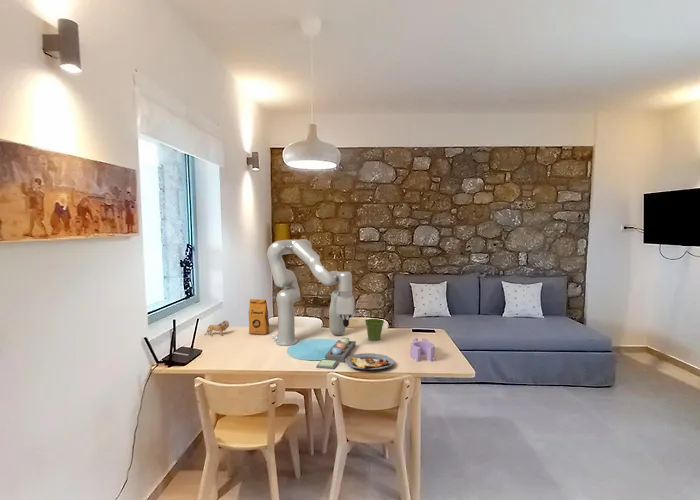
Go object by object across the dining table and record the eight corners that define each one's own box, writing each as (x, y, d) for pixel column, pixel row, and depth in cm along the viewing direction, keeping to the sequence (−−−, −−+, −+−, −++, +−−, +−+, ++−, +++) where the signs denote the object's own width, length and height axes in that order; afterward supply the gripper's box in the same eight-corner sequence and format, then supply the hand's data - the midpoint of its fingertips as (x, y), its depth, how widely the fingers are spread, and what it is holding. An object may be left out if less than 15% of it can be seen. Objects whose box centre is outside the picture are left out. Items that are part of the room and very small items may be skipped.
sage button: (339, 346, 242) (339, 339, 242) (341, 344, 247) (341, 337, 247) (348, 347, 241) (348, 340, 241) (350, 344, 246) (350, 337, 246)
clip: (408, 349, 242) (408, 337, 242) (430, 350, 242) (431, 338, 241) (411, 361, 223) (412, 348, 222) (436, 362, 222) (436, 349, 221)
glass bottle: (348, 334, 273) (348, 290, 270) (337, 338, 265) (337, 292, 263) (337, 331, 279) (337, 288, 277) (326, 335, 272) (326, 290, 269)
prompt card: (316, 367, 213) (316, 364, 213) (321, 361, 222) (321, 358, 222) (334, 369, 211) (334, 366, 211) (338, 363, 220) (338, 360, 220)
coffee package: (265, 336, 269) (264, 301, 267) (246, 335, 272) (246, 300, 270) (271, 332, 279) (271, 298, 277) (253, 330, 281) (252, 297, 280)
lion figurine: (229, 333, 275) (228, 319, 274) (228, 335, 270) (228, 321, 269) (204, 334, 272) (204, 320, 271) (204, 337, 267) (203, 322, 266)
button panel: (325, 360, 223) (325, 355, 223) (338, 345, 250) (338, 340, 250) (344, 362, 221) (344, 356, 221) (355, 346, 248) (355, 341, 248)
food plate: (401, 369, 210) (401, 362, 210) (356, 376, 202) (356, 368, 202) (380, 355, 234) (380, 349, 234) (339, 360, 226) (339, 354, 226)
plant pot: (381, 342, 255) (381, 323, 254) (361, 340, 259) (362, 322, 259) (386, 337, 266) (386, 319, 266) (368, 335, 270) (368, 317, 270)
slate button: (331, 356, 225) (331, 349, 225) (333, 354, 230) (333, 346, 229) (340, 357, 224) (340, 349, 224) (342, 354, 229) (342, 347, 228)
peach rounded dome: (335, 351, 234) (335, 344, 233) (337, 348, 238) (337, 341, 238) (344, 352, 233) (344, 344, 232) (346, 349, 237) (346, 342, 237)
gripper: (330, 294, 240) (331, 327, 241) (357, 295, 237) (357, 328, 238) (334, 292, 247) (334, 324, 249) (359, 293, 244) (360, 325, 245)
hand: (346, 326), depth 243 cm, fingers closed
